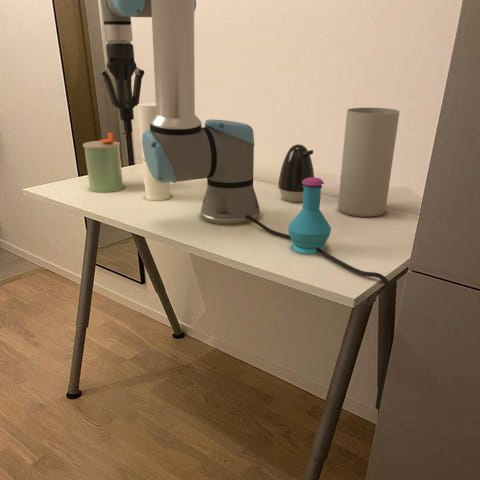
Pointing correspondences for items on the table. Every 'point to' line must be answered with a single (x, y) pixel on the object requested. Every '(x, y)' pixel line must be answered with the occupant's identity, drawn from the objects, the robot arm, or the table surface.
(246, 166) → the robot arm
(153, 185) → the cylindrical container
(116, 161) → the green lidded canister
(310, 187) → the perfume bottle
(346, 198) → the cylinder vase
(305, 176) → the pump dispenser
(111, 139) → the lid slider
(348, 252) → the table surface
